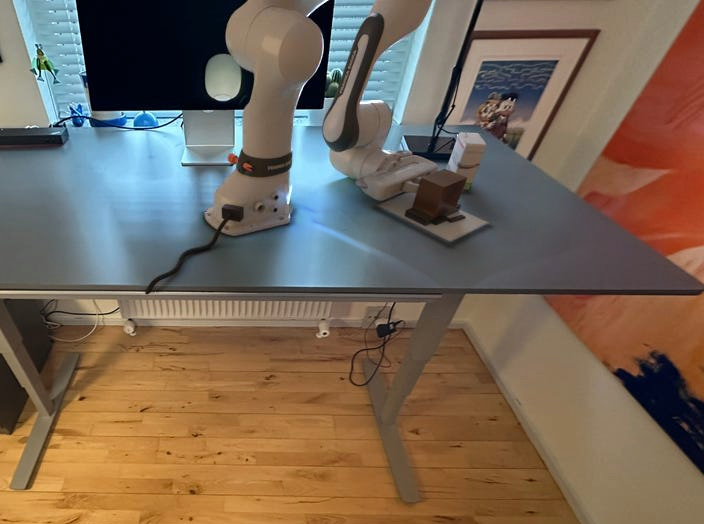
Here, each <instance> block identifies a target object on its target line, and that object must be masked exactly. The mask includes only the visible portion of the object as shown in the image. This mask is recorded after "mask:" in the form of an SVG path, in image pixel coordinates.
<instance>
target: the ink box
mask: <svg viewBox="0 0 704 524" xmlns="http://www.w3.org/2000/svg"><path fill="white" fill-rule="evenodd" d="M487 146H488V144H487V143H486V142H485V140H484V138H482V136H481V134H480V133H479V132H463V131H461V132H459V133H458V134H457V137H456V141H455V143H454V147H453V149H452V152H451V155H450V158H449V159H448V163H447V166H446V169H447V170H449V171H452V172H455V173H457V174H460V175H462V176H465V177H468V178H467V180H466V183H465V185H464V188H463V191H464V190H465V191H466V190H467V191H468V190H470V189H471V187H472V184H473V182H474V179H475V177H476V174H477V172H478V169H479V166H480V164H481V162H482V159H483V157H484V154H485V151H486V149H487Z"/></svg>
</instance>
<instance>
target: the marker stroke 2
mask: <svg viewBox="0 0 704 524" xmlns="http://www.w3.org/2000/svg"><path fill="white" fill-rule="evenodd" d="M462 219H465V216H464V215H459V216H455V217H452V218H449V219H447V221H448V222H450V223H452V222H455V221H459V220H462Z"/></svg>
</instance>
